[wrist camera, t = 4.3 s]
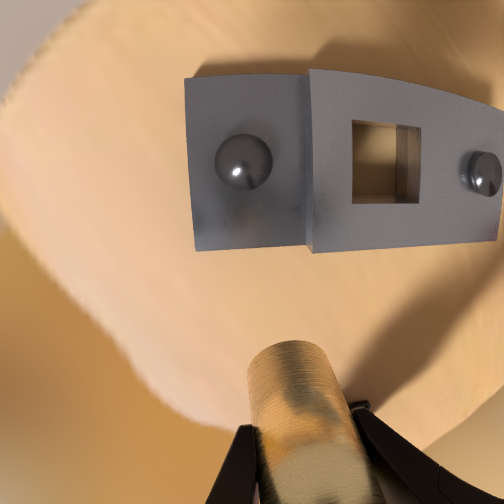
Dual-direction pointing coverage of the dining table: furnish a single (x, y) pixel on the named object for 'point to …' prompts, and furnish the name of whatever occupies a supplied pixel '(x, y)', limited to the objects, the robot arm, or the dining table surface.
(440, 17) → the dining table surface
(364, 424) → the robot arm
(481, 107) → the grey knobbed base plate
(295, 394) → the brass pin
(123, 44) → the dining table surface
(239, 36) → the dining table surface
